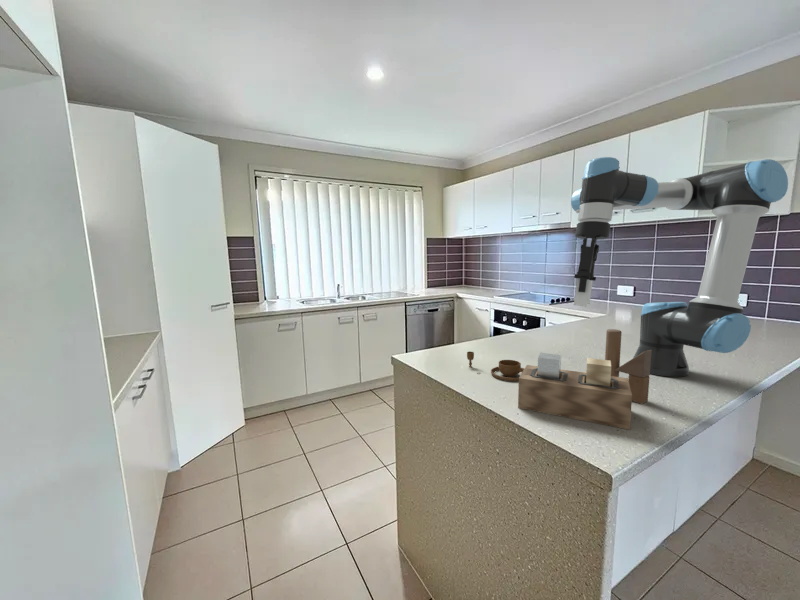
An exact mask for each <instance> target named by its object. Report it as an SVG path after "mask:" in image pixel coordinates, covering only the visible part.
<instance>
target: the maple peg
mask: <svg viewBox="0 0 800 600" xmlns="http://www.w3.org/2000/svg"><path fill="white" fill-rule="evenodd" d="M585 373H586V383H589V384H595V385H602V386H609V387H610V381H611V361H609V360H605V359H601V358H598V359H597V358H590V357H587V358H586V372H585Z"/></svg>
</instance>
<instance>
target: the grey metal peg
mask: <svg viewBox="0 0 800 600" xmlns="http://www.w3.org/2000/svg"><path fill="white" fill-rule="evenodd" d="M561 365H562V354H557V353H555V354H554V353H547V352H546V353H545V352H540V354H539V355H538V357H537V366H538V376H541V377H548V378H555V379H560V373H561V369H562V366H561Z"/></svg>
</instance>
